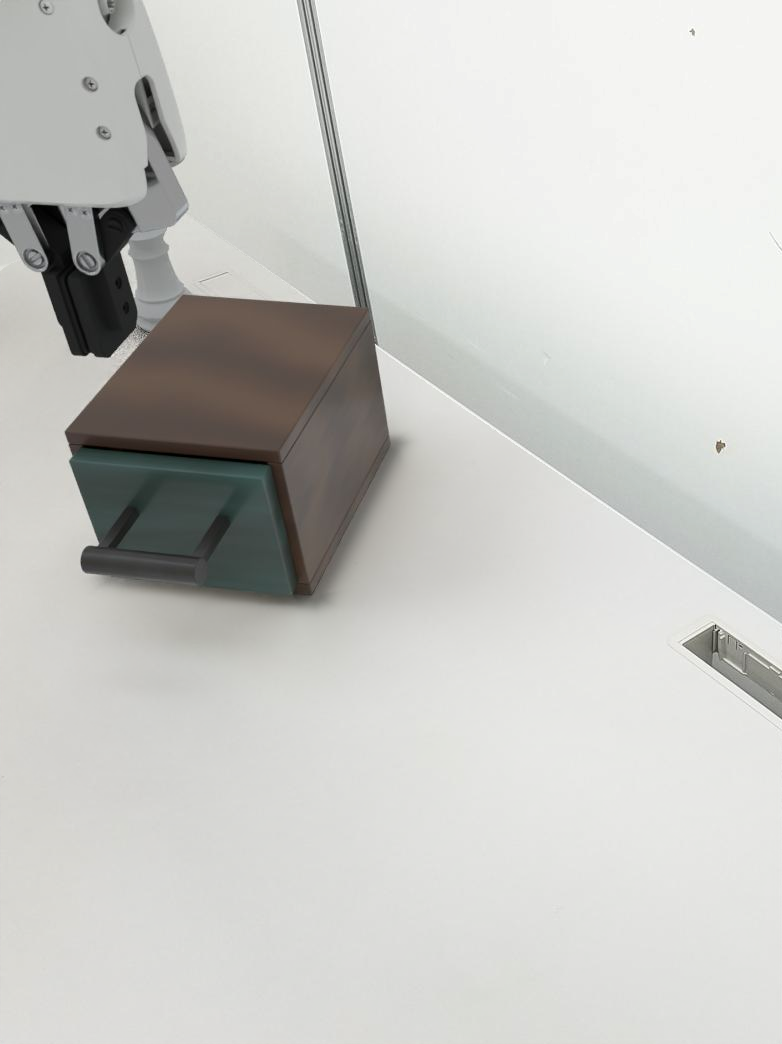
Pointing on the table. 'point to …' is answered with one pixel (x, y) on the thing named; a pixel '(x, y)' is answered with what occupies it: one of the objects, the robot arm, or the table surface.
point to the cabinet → (257, 406)
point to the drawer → (184, 520)
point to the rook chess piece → (153, 277)
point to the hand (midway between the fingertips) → (105, 340)
